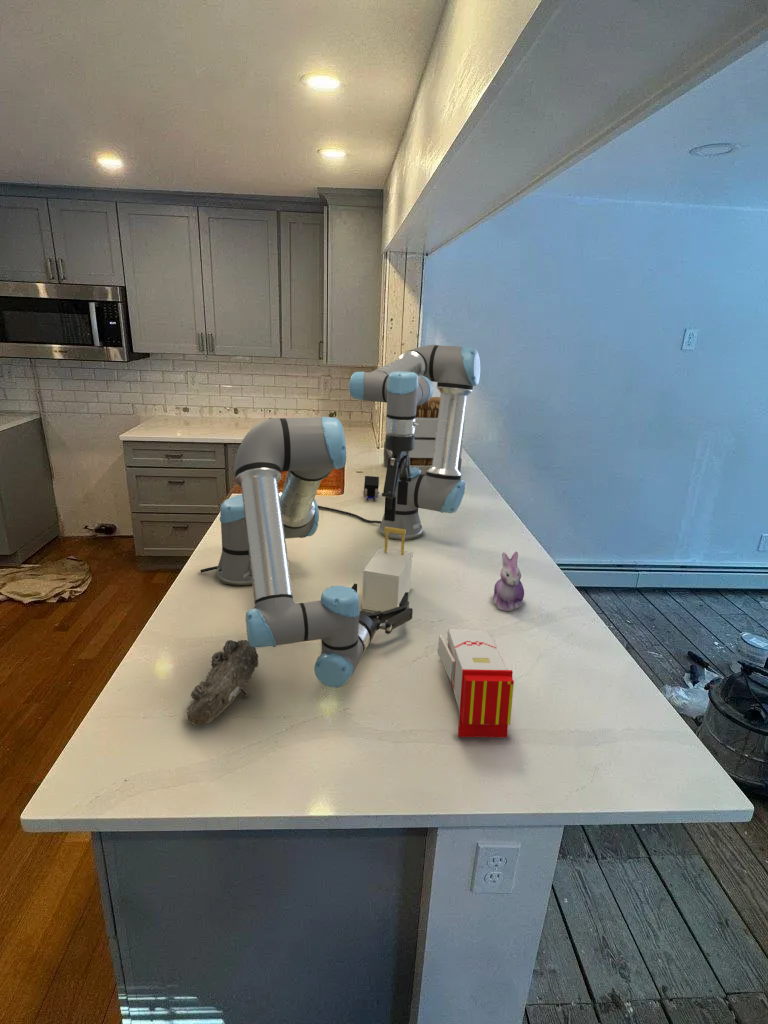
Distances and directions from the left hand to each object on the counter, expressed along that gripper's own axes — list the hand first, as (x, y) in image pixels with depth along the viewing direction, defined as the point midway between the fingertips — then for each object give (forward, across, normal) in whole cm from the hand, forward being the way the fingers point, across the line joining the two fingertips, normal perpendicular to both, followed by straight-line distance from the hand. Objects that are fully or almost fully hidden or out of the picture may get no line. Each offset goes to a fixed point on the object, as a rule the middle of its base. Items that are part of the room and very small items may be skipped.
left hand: (380, 592), depth 145 cm
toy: (-25, +27, -6) cm, 37 cm away
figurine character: (+90, -30, -6) cm, 95 cm away
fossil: (-41, -20, -6) cm, 46 cm away
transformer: (+135, -19, -6) cm, 137 cm away
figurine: (+17, +32, -6) cm, 36 cm away
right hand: (+14, 0, +17) cm, 22 cm away
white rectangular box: (+9, 0, +4) cm, 9 cm away
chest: (+8, 0, -6) cm, 10 cm away
